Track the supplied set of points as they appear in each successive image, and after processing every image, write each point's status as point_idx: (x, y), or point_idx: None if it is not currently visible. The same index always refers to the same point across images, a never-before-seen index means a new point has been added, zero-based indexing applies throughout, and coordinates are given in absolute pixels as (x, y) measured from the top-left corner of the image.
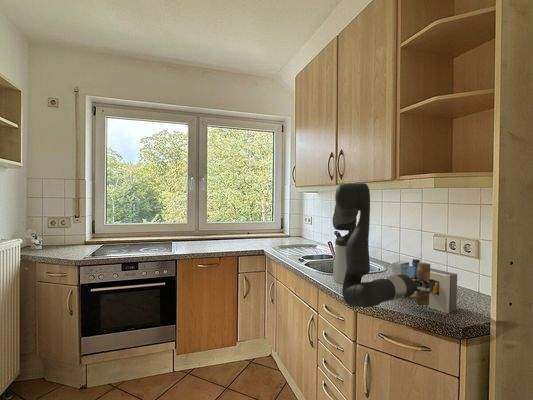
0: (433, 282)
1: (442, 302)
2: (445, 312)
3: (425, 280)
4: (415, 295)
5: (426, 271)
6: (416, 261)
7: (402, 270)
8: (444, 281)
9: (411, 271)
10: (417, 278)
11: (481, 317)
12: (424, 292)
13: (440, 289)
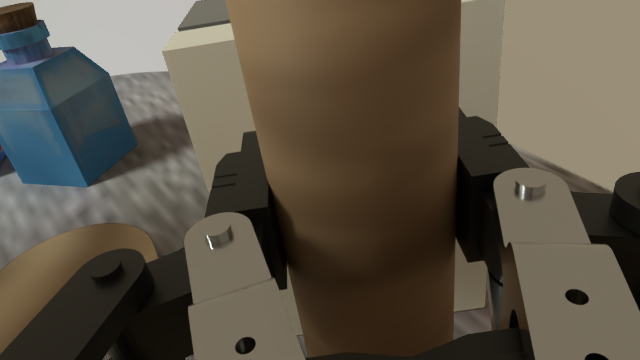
0: (503, 146)
1: (456, 252)
2: (481, 302)
3: (498, 195)
4: (156, 255)
5: (454, 12)
6: (16, 17)
7: None
8: (477, 67)
9: (20, 96)
10: (306, 214)
11: (570, 185)
12: (442, 335)
13: None
